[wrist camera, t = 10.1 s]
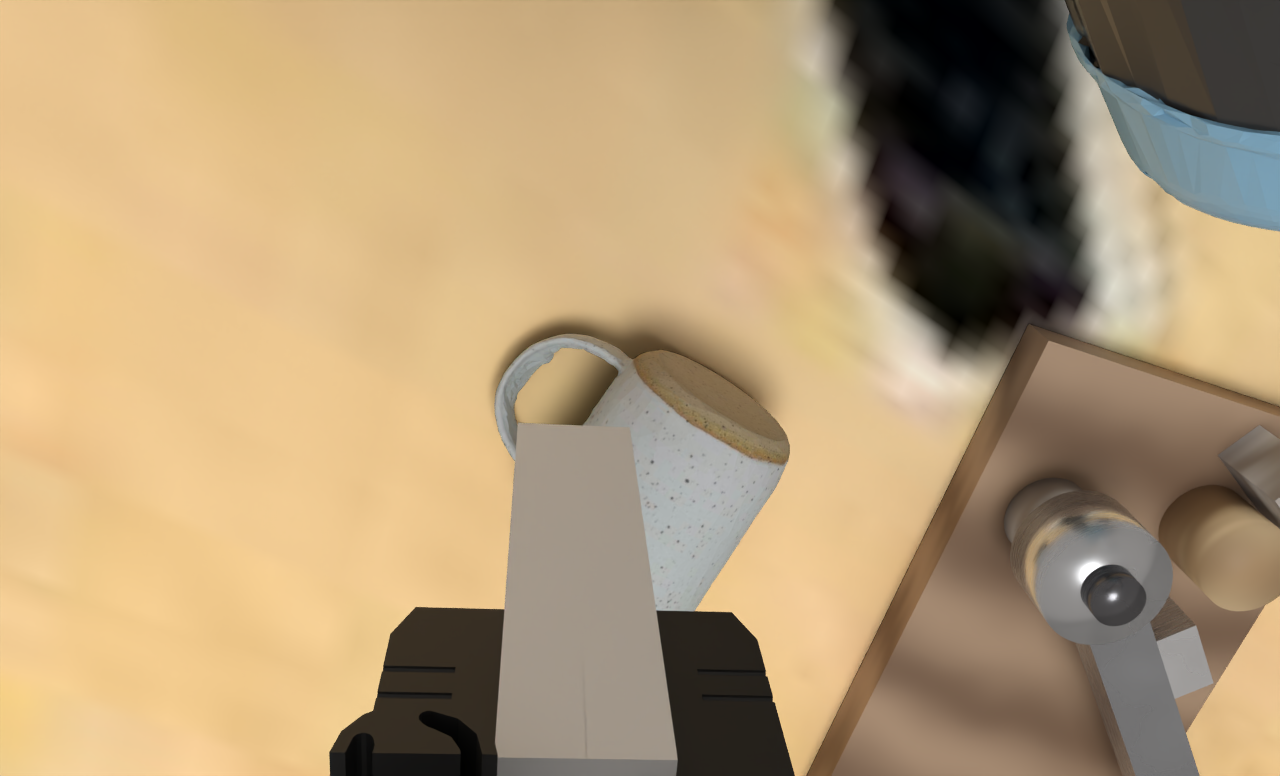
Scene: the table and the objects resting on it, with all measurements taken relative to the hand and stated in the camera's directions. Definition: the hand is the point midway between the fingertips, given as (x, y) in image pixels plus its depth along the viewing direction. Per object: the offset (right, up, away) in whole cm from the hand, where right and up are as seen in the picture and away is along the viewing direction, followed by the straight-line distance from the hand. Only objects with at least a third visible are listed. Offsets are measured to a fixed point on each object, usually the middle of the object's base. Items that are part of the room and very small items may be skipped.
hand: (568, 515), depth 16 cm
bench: (+18, -12, +38) cm, 44 cm away
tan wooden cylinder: (+25, -4, +33) cm, 41 cm away
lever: (+22, -13, +34) cm, 43 cm away
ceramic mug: (0, 0, +32) cm, 31 cm away
